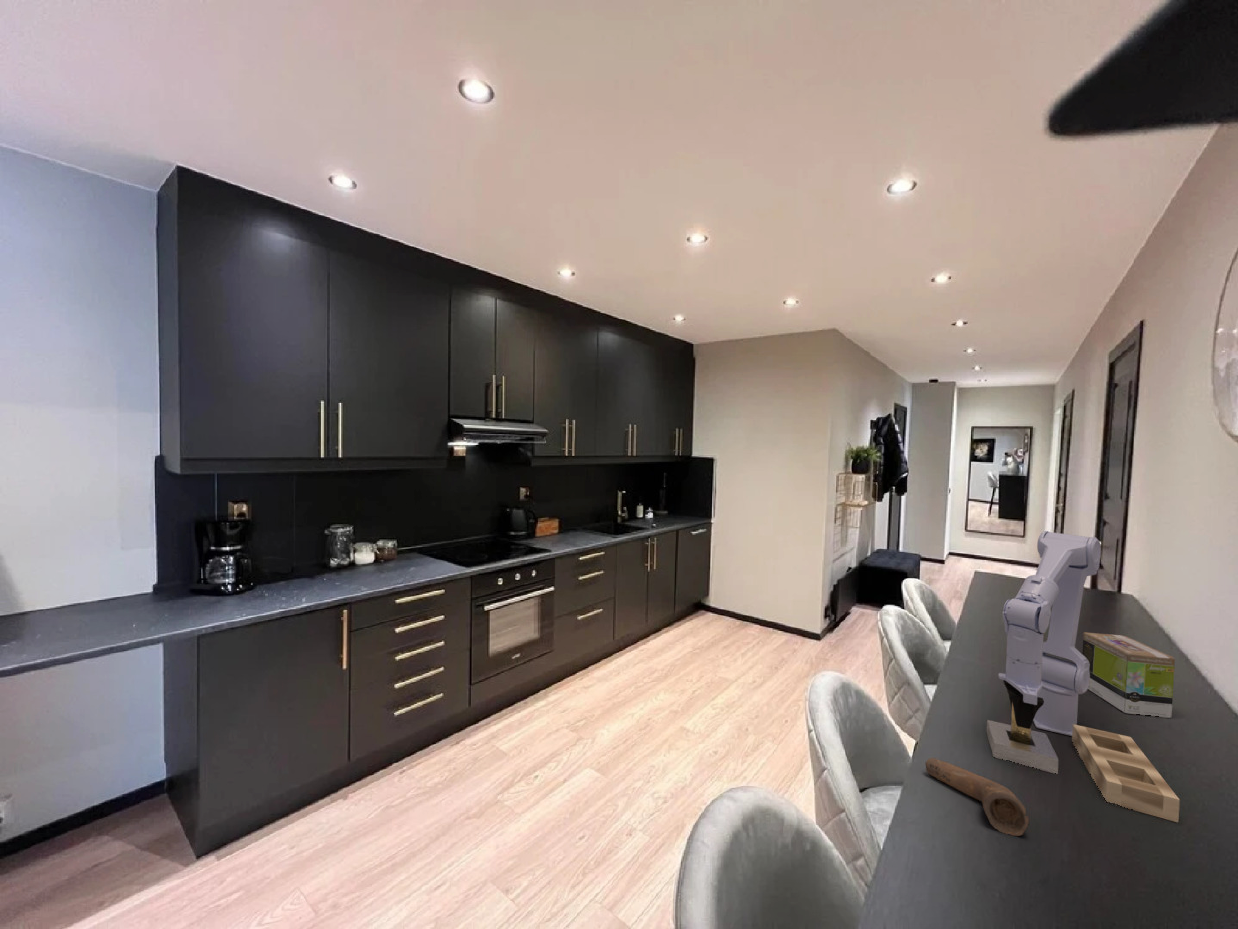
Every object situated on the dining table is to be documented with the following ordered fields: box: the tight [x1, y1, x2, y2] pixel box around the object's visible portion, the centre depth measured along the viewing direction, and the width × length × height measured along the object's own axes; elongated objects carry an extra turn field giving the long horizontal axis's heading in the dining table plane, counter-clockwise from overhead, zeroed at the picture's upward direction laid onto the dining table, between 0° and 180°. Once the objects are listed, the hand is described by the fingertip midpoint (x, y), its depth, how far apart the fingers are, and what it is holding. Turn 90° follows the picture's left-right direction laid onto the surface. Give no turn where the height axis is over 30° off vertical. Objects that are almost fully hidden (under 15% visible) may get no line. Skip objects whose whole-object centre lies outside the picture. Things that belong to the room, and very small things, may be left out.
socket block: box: [986, 719, 1059, 775], centre depth 102 cm, size 10×10×3 cm
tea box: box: [1081, 631, 1176, 719], centre depth 124 cm, size 15×10×15 cm
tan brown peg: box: [1010, 703, 1032, 745], centre depth 102 cm, size 3×3×9 cm
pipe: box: [925, 757, 1030, 837], centre depth 88 cm, size 6×17×10 cm
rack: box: [1071, 724, 1181, 823], centre depth 95 cm, size 21×9×4 cm, turn 150°
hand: (1021, 722), depth 102 cm, fingers closed on tan brown peg, 3 cm apart
